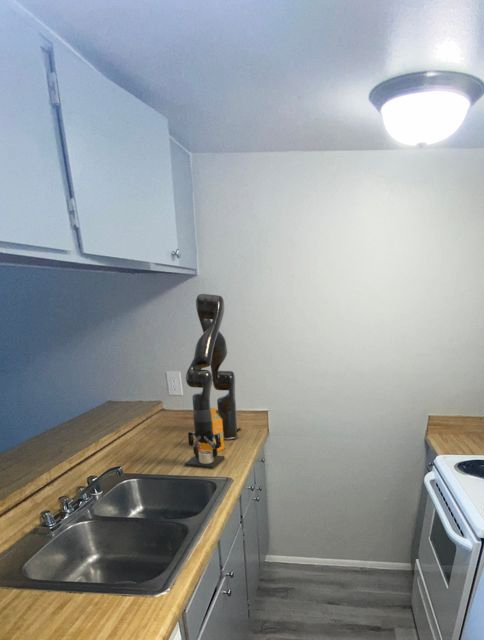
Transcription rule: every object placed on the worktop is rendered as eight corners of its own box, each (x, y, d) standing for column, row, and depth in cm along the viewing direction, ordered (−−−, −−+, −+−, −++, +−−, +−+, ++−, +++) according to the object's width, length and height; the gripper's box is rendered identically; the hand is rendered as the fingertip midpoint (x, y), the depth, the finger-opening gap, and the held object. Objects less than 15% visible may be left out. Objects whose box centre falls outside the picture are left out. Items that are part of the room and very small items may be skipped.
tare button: (200, 452, 216) (200, 448, 215) (206, 452, 215) (206, 449, 215) (197, 454, 214) (197, 450, 213) (203, 454, 213) (203, 451, 212)
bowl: (202, 459, 211) (202, 449, 209) (215, 460, 209) (215, 450, 207) (197, 463, 205) (196, 453, 203) (210, 465, 204) (209, 455, 202)
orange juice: (209, 445, 233) (206, 404, 224) (224, 448, 230) (221, 407, 220) (199, 450, 227) (196, 408, 218) (214, 452, 224) (211, 410, 214)
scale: (199, 456, 219) (198, 450, 218) (225, 458, 216) (224, 452, 215) (185, 466, 207) (184, 459, 205) (212, 469, 204) (211, 462, 202)
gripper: (221, 418, 200) (224, 455, 208) (191, 415, 203) (194, 452, 211) (214, 422, 194) (217, 460, 202) (183, 420, 197) (187, 457, 205)
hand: (205, 456), depth 206 cm, fingers open, 8 cm apart
